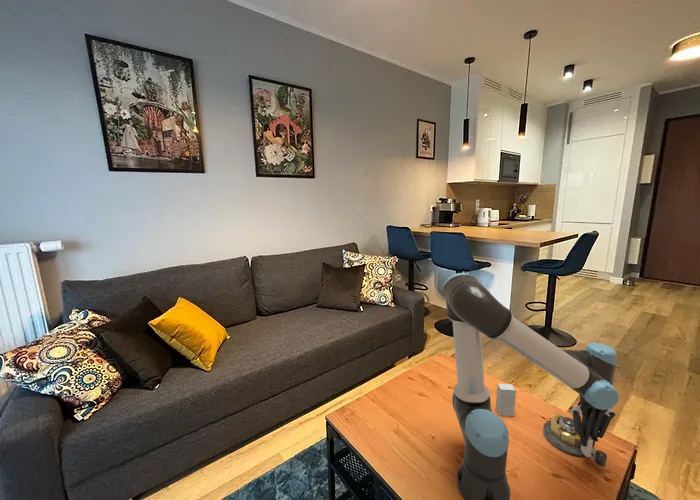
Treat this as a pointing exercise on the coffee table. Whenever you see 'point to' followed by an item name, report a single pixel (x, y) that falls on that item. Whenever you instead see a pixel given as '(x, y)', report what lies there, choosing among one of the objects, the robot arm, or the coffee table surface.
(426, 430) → the coffee table surface
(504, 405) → the skincare box
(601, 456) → the ball lever
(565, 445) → the housing
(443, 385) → the coffee table surface
